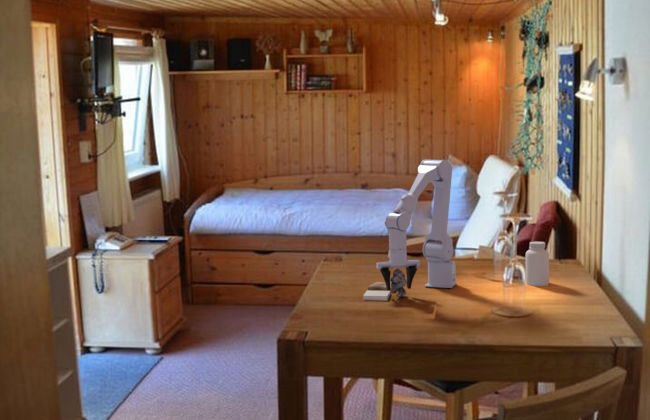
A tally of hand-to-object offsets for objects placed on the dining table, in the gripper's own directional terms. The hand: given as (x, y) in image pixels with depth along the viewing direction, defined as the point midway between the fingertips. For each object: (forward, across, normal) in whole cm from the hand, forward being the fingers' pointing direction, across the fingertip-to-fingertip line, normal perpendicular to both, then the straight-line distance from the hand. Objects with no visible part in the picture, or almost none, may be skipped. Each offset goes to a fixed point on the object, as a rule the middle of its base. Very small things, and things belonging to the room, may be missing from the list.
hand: (398, 288), depth 265 cm
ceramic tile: (+3, +7, -2) cm, 8 cm away
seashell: (+3, 0, 0) cm, 3 cm away
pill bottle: (+3, -51, -3) cm, 52 cm away
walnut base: (+3, +2, -12) cm, 12 cm away
